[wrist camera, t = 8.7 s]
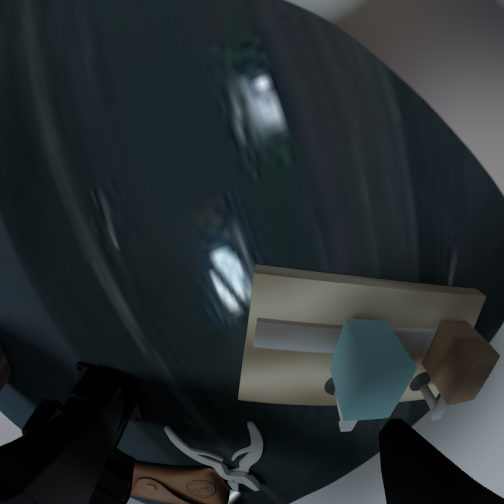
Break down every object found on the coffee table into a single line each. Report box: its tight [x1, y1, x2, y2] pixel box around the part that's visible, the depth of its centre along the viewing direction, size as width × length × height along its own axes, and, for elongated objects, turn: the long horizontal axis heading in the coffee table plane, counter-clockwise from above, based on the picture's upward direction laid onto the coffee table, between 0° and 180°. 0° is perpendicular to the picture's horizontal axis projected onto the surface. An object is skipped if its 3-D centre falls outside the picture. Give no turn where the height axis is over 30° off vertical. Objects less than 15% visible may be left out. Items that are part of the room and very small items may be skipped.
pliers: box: [164, 421, 263, 491], centre depth 26 cm, size 10×2×15 cm
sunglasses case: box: [131, 460, 230, 504], centre depth 27 cm, size 18×7×7 cm, turn 102°
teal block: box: [329, 318, 417, 432], centre depth 15 cm, size 7×3×5 cm, turn 173°
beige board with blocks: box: [238, 264, 500, 420], centre depth 17 cm, size 11×19×7 cm, turn 83°
